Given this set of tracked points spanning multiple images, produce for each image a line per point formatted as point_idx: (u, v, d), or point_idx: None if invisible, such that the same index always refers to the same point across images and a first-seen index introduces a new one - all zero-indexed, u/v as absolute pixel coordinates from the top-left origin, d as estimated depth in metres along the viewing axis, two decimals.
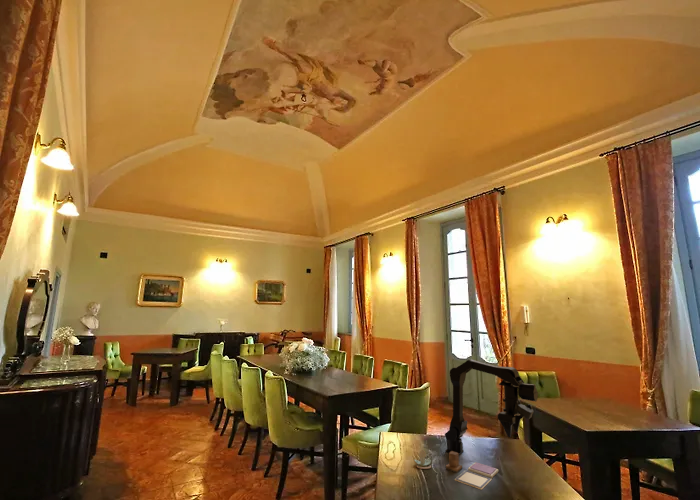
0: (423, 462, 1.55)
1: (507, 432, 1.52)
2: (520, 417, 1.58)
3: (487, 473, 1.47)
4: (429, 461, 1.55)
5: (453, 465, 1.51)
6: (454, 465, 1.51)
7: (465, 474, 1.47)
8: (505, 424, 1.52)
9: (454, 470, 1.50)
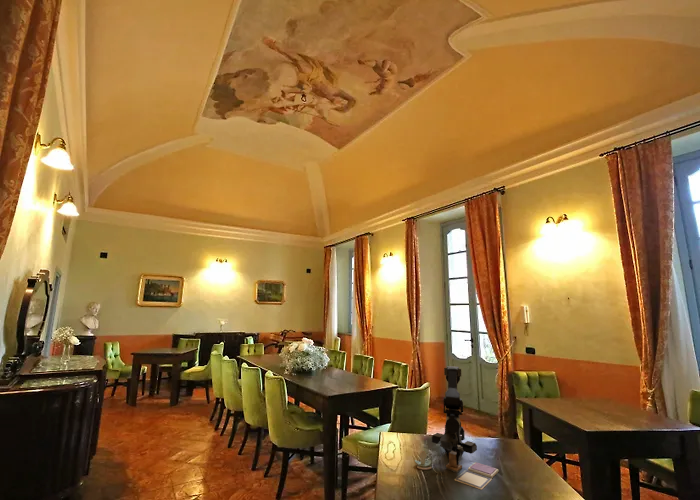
0: (423, 463, 1.54)
1: None
2: None
3: (487, 473, 1.47)
4: (429, 462, 1.55)
5: (453, 465, 1.51)
6: (454, 465, 1.51)
7: (465, 474, 1.47)
8: (448, 448, 1.56)
9: (454, 470, 1.50)
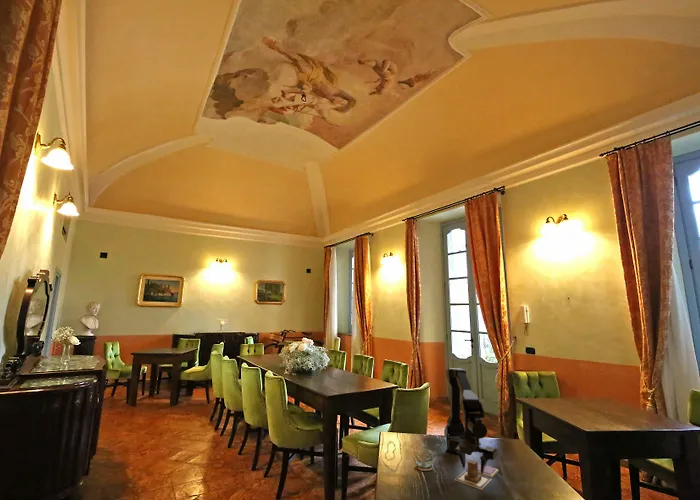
0: (424, 464, 1.53)
1: None
2: None
3: (487, 473, 1.47)
4: (430, 463, 1.53)
5: (472, 475, 1.42)
6: (473, 475, 1.42)
7: None
8: None
9: (474, 480, 1.40)
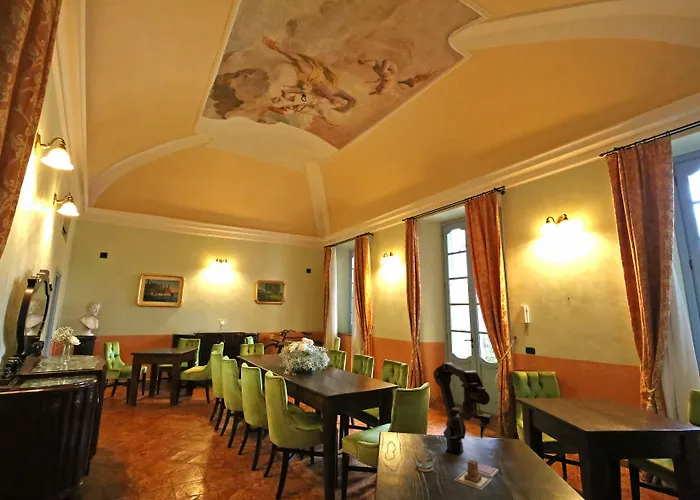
0: (425, 465, 1.52)
1: None
2: None
3: (487, 473, 1.47)
4: (431, 464, 1.53)
5: (472, 475, 1.42)
6: (473, 475, 1.42)
7: None
8: None
9: (474, 480, 1.40)
